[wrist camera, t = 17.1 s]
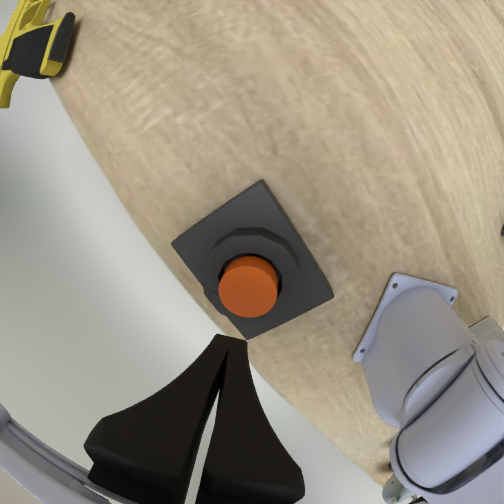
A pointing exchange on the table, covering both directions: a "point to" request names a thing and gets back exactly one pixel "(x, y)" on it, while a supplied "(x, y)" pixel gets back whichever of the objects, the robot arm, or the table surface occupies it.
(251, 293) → the button
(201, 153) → the table surface
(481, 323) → the cosmetic box
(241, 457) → the robot arm
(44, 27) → the handgun
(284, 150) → the table surface
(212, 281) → the block
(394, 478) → the sculpture
